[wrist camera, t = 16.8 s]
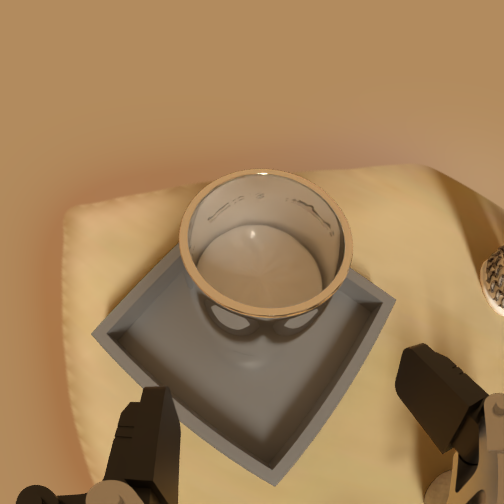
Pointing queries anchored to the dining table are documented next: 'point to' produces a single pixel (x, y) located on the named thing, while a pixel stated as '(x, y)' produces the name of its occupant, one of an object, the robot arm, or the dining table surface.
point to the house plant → (439, 489)
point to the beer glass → (262, 261)
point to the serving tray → (244, 380)
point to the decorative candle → (494, 280)
